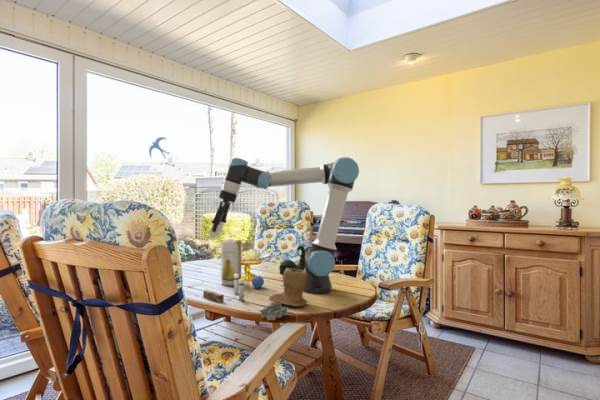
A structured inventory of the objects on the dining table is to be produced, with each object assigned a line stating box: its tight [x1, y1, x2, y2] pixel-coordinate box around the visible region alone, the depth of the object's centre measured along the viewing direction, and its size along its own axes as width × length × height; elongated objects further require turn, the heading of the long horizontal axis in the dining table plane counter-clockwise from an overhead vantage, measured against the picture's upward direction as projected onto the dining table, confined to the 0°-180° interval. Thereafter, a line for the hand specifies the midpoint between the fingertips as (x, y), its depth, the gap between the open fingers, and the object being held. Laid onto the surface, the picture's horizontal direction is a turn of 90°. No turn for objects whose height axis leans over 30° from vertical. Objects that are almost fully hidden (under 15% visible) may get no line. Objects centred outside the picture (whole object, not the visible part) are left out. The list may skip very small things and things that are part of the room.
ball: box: [251, 275, 265, 289], centre depth 166 cm, size 6×6×6 cm
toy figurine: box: [278, 245, 305, 277], centre depth 187 cm, size 9×19×25 cm
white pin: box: [233, 274, 239, 295], centre depth 155 cm, size 2×2×9 cm
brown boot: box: [268, 268, 308, 307], centre depth 142 cm, size 15×12×15 cm
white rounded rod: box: [238, 278, 245, 302], centre depth 145 cm, size 2×2×9 cm
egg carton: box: [259, 301, 289, 321], centre depth 127 cm, size 11×8×4 cm
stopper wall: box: [202, 289, 225, 304], centre depth 146 cm, size 12×2×3 cm, turn 50°
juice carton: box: [220, 237, 242, 286], centre depth 173 cm, size 9×8×24 cm
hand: (214, 237), depth 148 cm, fingers open, 13 cm apart
